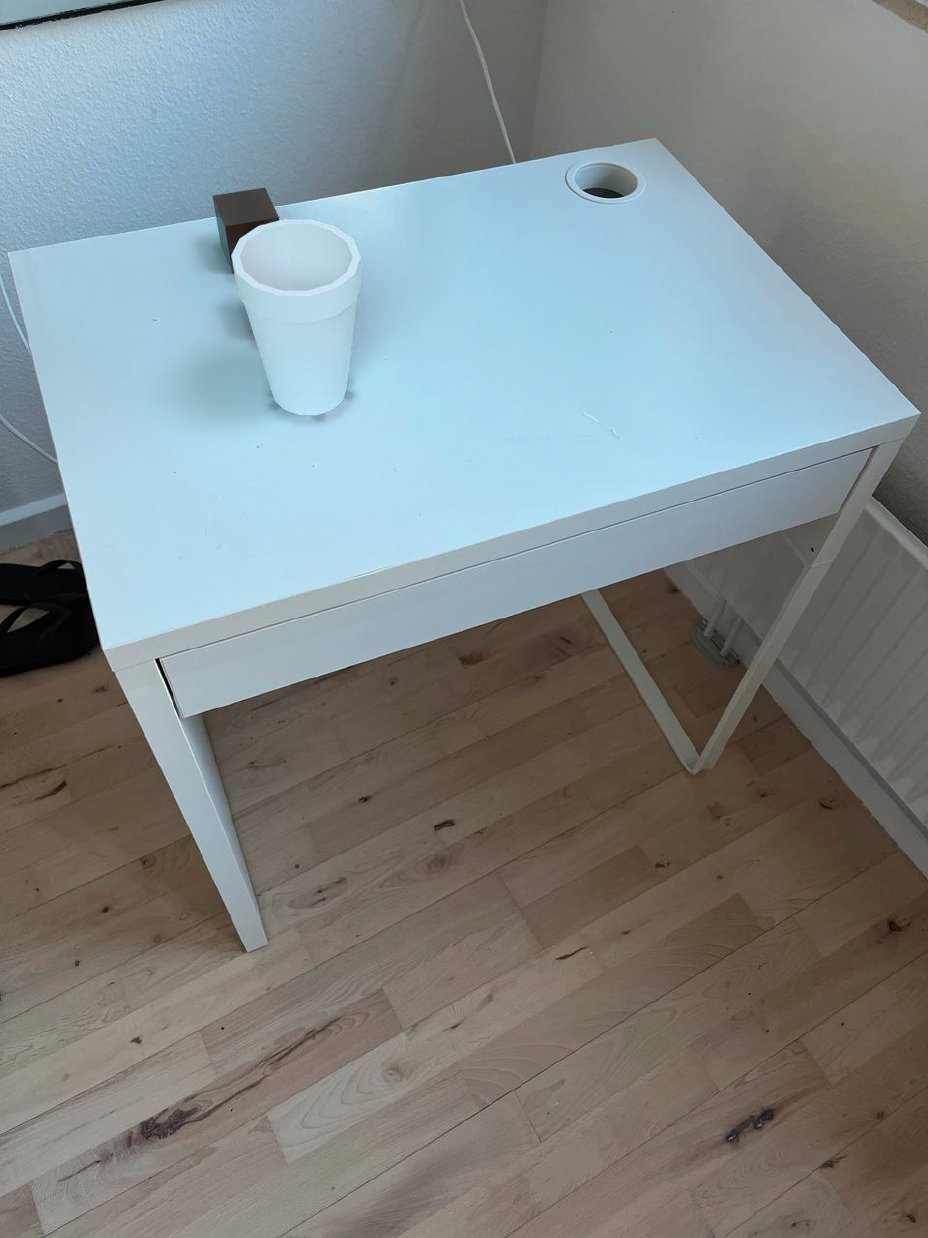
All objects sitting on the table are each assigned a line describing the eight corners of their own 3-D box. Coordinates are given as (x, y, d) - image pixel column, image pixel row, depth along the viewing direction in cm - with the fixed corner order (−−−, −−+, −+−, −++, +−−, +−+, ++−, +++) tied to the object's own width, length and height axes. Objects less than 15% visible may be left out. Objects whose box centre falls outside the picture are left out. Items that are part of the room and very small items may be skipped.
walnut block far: (232, 273, 88) (224, 225, 84) (220, 243, 91) (212, 195, 87) (284, 264, 90) (279, 217, 86) (271, 234, 92) (265, 186, 88)
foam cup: (279, 442, 77) (261, 309, 66) (236, 372, 81) (212, 237, 70) (383, 406, 80) (381, 274, 69) (336, 341, 84) (328, 207, 73)
